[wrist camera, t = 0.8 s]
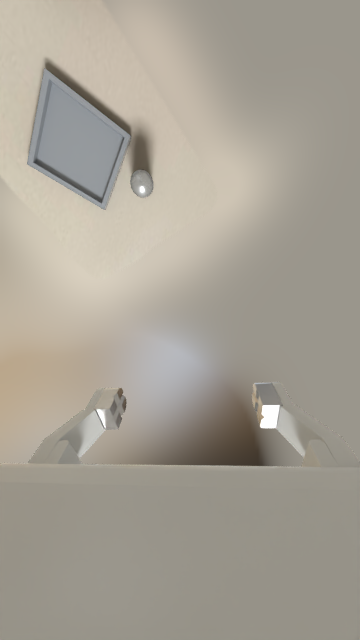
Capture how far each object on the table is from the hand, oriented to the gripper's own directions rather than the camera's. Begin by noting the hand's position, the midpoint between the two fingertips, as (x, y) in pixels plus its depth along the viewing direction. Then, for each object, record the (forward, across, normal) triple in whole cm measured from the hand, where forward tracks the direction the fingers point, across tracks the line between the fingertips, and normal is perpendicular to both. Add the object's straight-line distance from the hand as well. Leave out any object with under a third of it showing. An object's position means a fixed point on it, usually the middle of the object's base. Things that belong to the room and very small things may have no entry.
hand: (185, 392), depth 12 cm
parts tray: (+37, +19, -24) cm, 48 cm away
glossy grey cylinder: (+40, +9, -17) cm, 44 cm away
